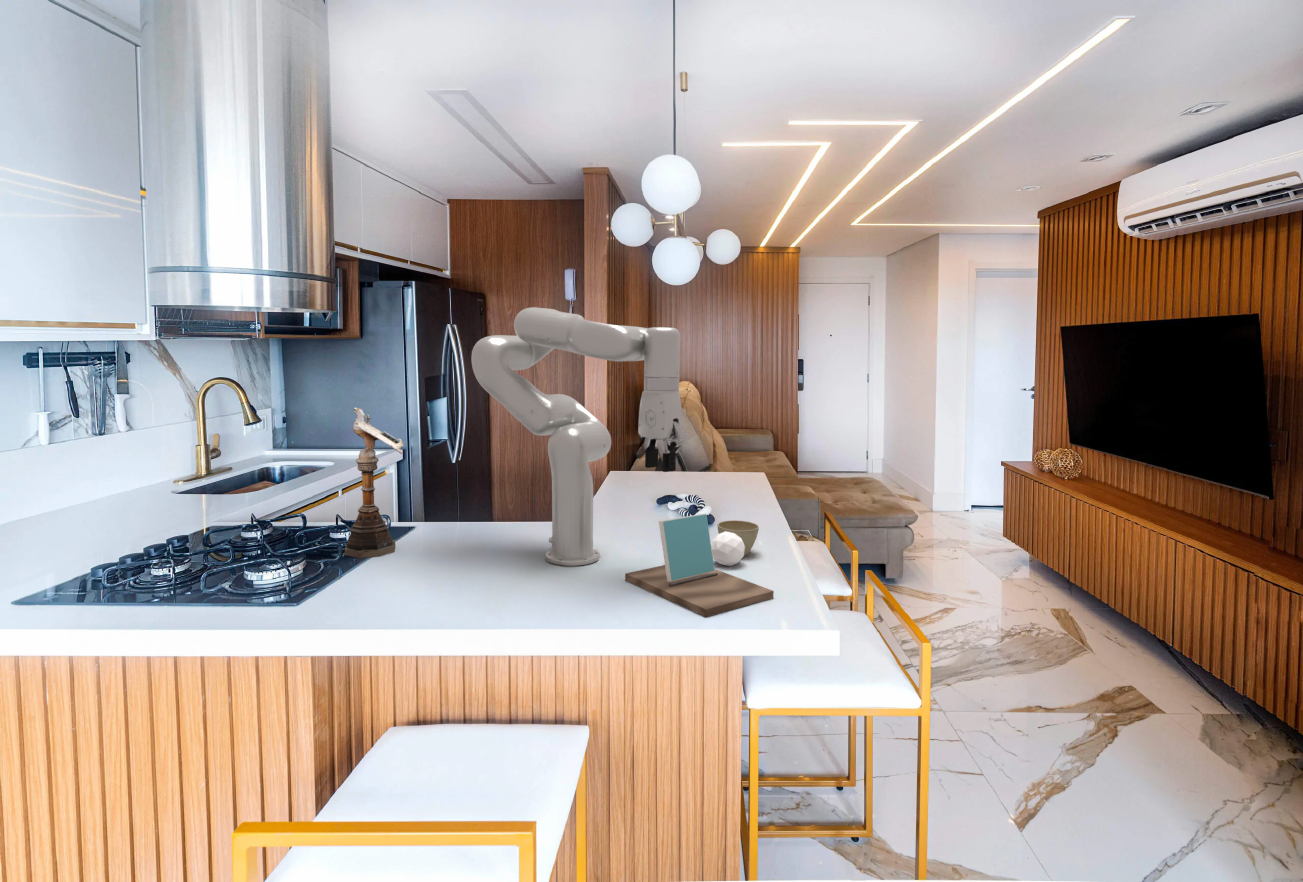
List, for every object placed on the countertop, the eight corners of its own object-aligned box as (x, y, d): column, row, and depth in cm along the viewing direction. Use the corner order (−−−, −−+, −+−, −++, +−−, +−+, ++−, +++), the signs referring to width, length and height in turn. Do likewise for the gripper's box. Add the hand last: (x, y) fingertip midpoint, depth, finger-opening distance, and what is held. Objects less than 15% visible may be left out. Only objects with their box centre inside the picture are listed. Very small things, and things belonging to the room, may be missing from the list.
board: (625, 580, 155) (625, 571, 154) (689, 565, 166) (689, 557, 165) (705, 617, 134) (706, 606, 134) (773, 598, 145) (773, 588, 145)
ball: (734, 578, 166) (744, 557, 161) (702, 563, 167) (711, 542, 162) (743, 554, 172) (753, 533, 166) (712, 541, 173) (721, 519, 167)
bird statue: (417, 539, 184) (413, 402, 180) (417, 553, 172) (413, 406, 167) (346, 544, 179) (341, 403, 175) (342, 559, 167) (335, 407, 162)
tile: (658, 521, 149) (662, 520, 148) (702, 513, 156) (706, 513, 155) (667, 581, 148) (671, 581, 147) (711, 571, 155) (715, 571, 154)
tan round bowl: (711, 556, 173) (712, 527, 172) (723, 546, 182) (724, 518, 181) (752, 561, 170) (753, 532, 169) (762, 551, 179) (763, 522, 178)
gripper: (624, 383, 159) (623, 465, 162) (673, 388, 146) (671, 476, 148) (651, 383, 164) (650, 462, 166) (701, 387, 150) (699, 473, 153)
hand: (660, 468), depth 157 cm, fingers open, 5 cm apart
